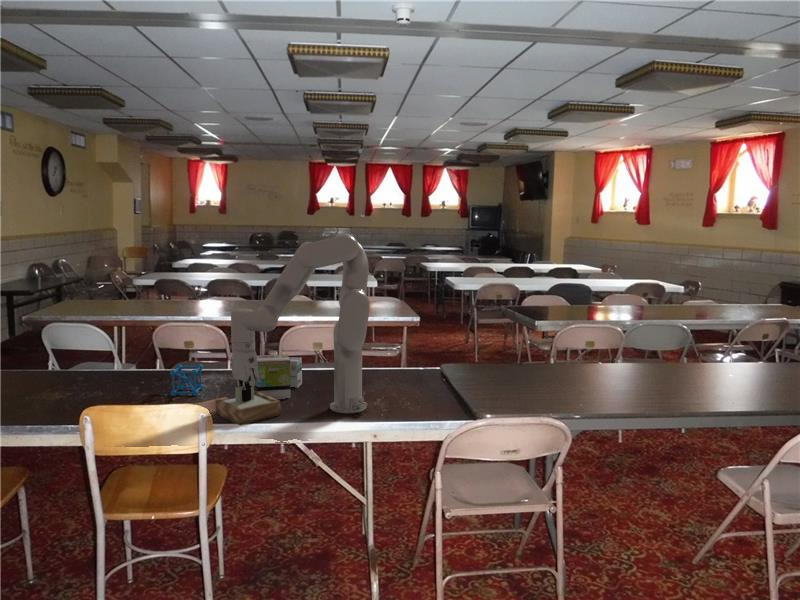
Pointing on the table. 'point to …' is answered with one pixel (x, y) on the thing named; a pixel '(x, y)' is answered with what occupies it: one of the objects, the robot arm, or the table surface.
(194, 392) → the molecular structure
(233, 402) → the cover plate
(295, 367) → the light bulb box
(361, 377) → the robot arm
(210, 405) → the terracotta tile
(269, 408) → the oak box
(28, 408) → the table surface
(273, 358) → the tea box
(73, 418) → the table surface
